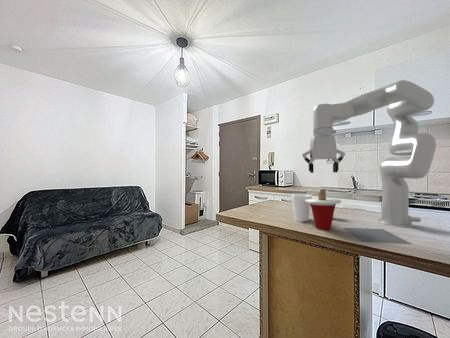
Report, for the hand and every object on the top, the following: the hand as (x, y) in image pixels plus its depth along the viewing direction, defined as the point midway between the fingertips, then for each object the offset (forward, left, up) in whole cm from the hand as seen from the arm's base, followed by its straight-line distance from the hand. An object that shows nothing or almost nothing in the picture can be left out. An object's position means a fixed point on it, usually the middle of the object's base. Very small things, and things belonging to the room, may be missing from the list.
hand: (323, 172), depth 85 cm
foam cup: (+6, -13, -25) cm, 29 cm away
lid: (0, 0, -13) cm, 13 cm away
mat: (-17, +6, -25) cm, 31 cm away
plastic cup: (0, 0, -25) cm, 25 cm away
